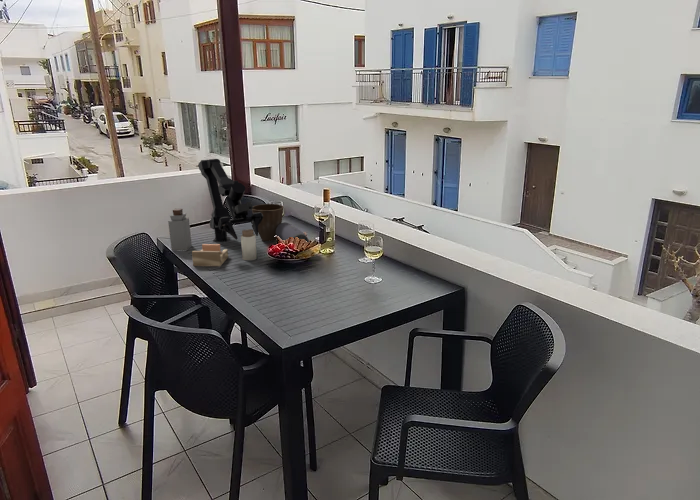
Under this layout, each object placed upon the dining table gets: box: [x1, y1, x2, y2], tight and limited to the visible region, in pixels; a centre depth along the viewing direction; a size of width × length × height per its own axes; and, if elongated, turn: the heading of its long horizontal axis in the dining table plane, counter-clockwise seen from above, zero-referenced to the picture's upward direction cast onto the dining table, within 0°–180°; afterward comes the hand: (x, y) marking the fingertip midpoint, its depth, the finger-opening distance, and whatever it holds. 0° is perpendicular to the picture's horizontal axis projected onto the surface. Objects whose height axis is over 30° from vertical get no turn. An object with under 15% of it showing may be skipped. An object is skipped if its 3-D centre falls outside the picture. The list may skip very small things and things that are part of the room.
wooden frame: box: [191, 248, 229, 267], centre depth 194 cm, size 12×11×6 cm
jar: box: [240, 228, 258, 261], centre depth 197 cm, size 6×6×12 cm
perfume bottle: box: [167, 208, 193, 251], centre depth 210 cm, size 7×7×18 cm
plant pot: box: [251, 203, 284, 242], centre depth 223 cm, size 15×15×16 cm
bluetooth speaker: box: [276, 221, 310, 243], centre depth 211 cm, size 23×9×10 cm, turn 25°
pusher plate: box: [201, 243, 222, 253], centre depth 195 cm, size 1×7×6 cm, turn 89°
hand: (247, 237), depth 197 cm, fingers open, 9 cm apart
